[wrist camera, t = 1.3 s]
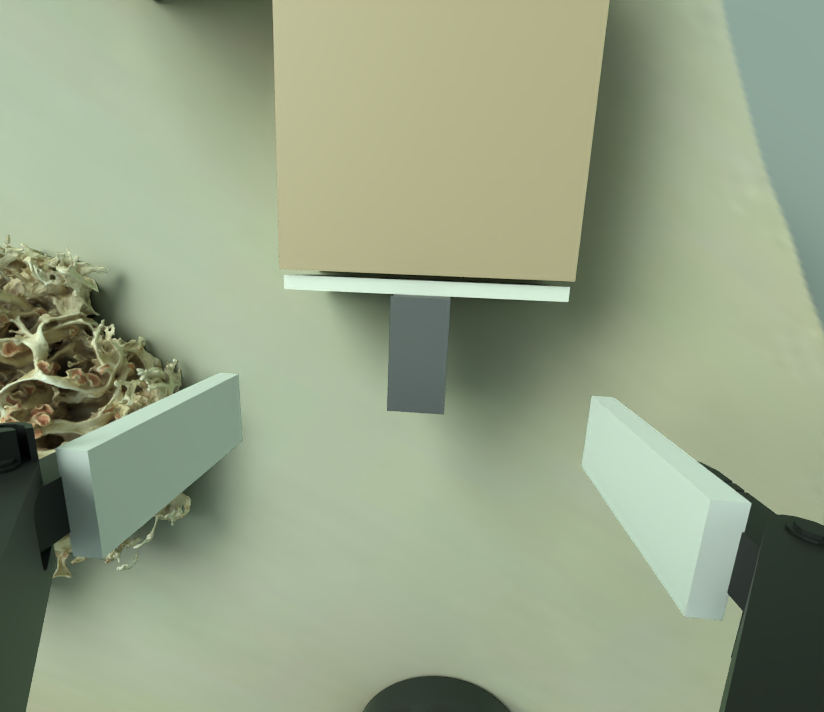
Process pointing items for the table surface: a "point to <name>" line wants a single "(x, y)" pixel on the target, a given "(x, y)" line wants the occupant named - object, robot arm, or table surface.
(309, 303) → the table surface
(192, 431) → the robot arm
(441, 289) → the tray
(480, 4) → the sleeve
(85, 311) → the dried lichen
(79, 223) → the table surface
